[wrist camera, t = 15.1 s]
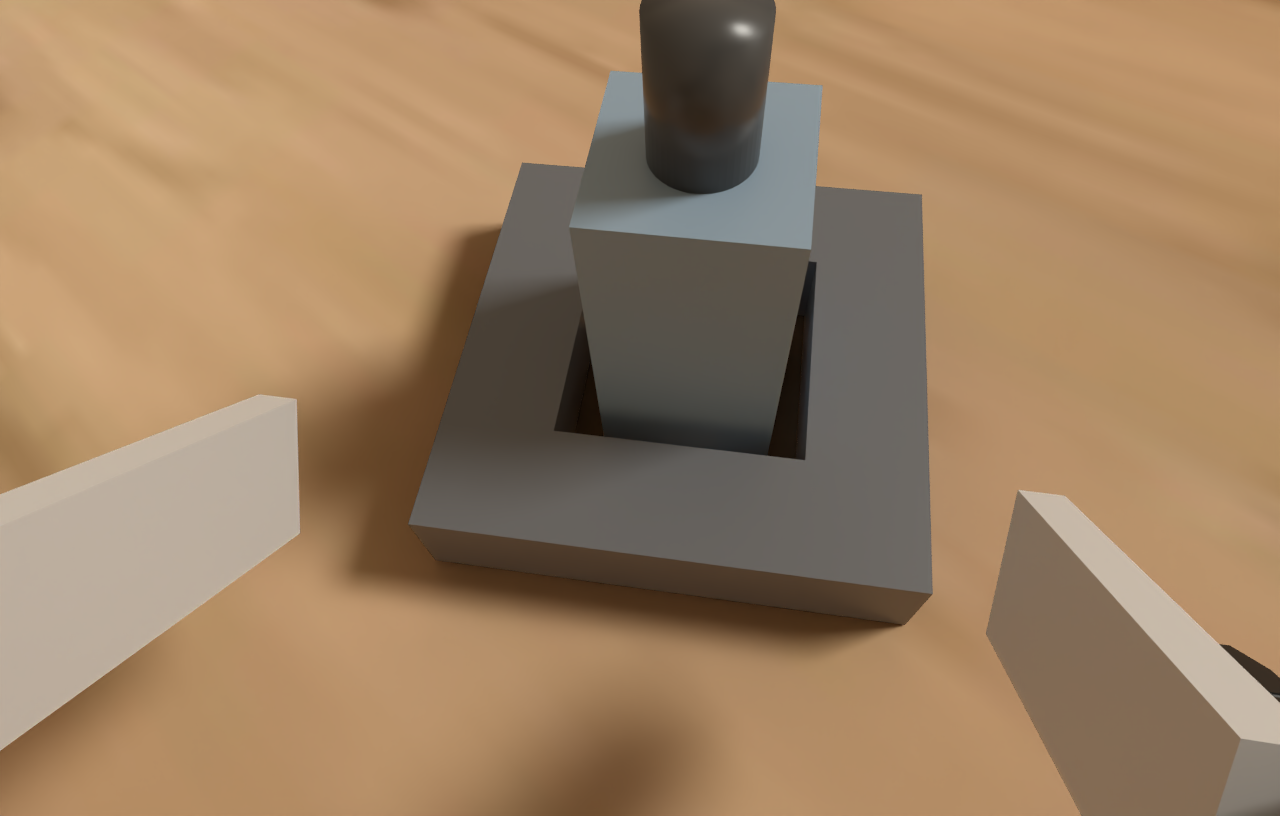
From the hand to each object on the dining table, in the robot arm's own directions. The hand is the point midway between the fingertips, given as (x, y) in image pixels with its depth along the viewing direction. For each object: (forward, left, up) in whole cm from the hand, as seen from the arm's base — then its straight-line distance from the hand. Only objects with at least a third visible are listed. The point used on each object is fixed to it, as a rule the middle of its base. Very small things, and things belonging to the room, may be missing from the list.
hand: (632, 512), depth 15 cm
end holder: (0, -7, -6) cm, 9 cm away
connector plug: (0, -7, -7) cm, 9 cm away
